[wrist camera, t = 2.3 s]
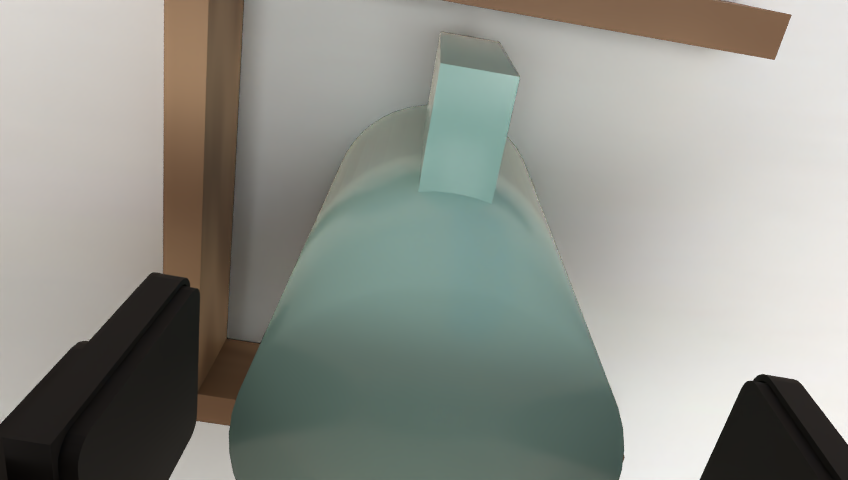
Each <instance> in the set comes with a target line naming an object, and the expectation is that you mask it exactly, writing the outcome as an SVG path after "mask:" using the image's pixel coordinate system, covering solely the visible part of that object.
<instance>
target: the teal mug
mask: <svg viewBox="0 0 848 480" xmlns="http://www.w3.org/2000/svg"><path fill="white" fill-rule="evenodd" d="M519 80H520V76H519V74H518V73H517V71H516V69H515V67H514V66H513V64H512V62H511V61H510V59H509V57H508V56H507V54H506V52H505V51H504V49H503V47H502V46H501V44H500V42H497V41H491V40H486V39H480V38H474V37H469V36H463V35H457V34H452V33H446V32H440V36H439V42H438V48H437V54H436V60H435V66H434V72H433V77H432V83H431V89H430V95H429V101H428V105H421V106H415V107H409V108H406V109H402V110H399V111H396V112H394V113H391V114H389V115H387V116H385V117H383V118H381V119H380V120H378V121H376V122H375V123H373V124H372V125H371V126H369V127H368V128H367V129H366V130H365V131H363V132H362V133H361V134H360V135H359V137H358V138H357V139H356V140H355V141H354V142H353V144H352V145H351V146H350V148H349V149H348V151H347V152H346V154H345V156H344V158H343V160H342V162H341V164H340V166H339V169H338V171H337V173H336V175H335V178H334V180H333V182H332V184H331V187H330V189H329V191H328V193H327V196H326V198H325V200H324V202H323V204H322V207H321V209H320V211H319V213H318V216H317V218H316V220H315V222H314V225H313V227H312V229H311V231H310V234H309V236H308V238H307V240H306V242H305V245H304V247H303V249H302V251H301V254H300V256H299V258H298V260H297V263H296V265H295V267H294V269H293V272H292V274H291V276H290V278H289V281H288V283H287V285H286V287H285V289H284V292H283V294H282V296H281V298H280V301H279V303H278V305H277V307H276V310H275V312H274V314H273V316H272V319H271V321H270V323H269V325H268V327H267V330H266V332H265V334H264V336H263V339H262V341H261V343H260V345H259V348H258V350H257V352H256V354H255V357H254V359H253V361H252V363H251V366H250V368H249V370H248V372H247V374H246V377H245V379H244V381H243V383H242V386H241V388H240V390H239V392H238V395H237V398H236V402H235V405H234V408H233V411H232V415H231V423H230V430H229V452H230V458H231V463H232V469H233V473H234V476H235V479H236V480H619V477H620V474H621V470H622V463H623V454H624V439H623V427H622V423H621V418H620V414H619V409H618V406H617V404H616V401H615V398H614V396H613V393H612V391H611V388H610V385H609V383H608V380H607V378H606V375H605V372H604V370H603V367H602V364H601V362H600V359H599V357H598V354H597V351H596V349H595V346H594V344H593V341H592V338H591V336H590V333H589V330H588V328H587V325H586V323H585V320H584V317H583V315H582V312H581V310H580V307H579V304H578V302H577V299H576V296H575V294H574V291H573V289H572V286H571V283H570V281H569V278H568V275H567V273H566V270H565V268H564V265H563V262H562V260H561V257H560V255H559V252H558V249H557V247H556V244H555V241H554V239H553V236H552V234H551V231H550V228H549V226H548V223H547V221H546V218H545V215H544V213H543V210H542V207H541V205H540V202H539V200H538V197H537V194H536V192H535V189H534V187H533V184H532V181H531V179H530V176H529V173H528V171H527V168H526V166H525V163H524V161H523V159H522V157H521V155H520V153H519V152H518V150H517V148H516V147H515V146H514V144H513V143H512V142H511V141H510V139H509V138H508V137H507V133H508V129H509V124H510V120H511V116H512V111H513V107H514V102H515V98H516V93H517V89H518V84H519Z"/></svg>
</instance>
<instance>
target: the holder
mask: <svg viewBox="0 0 848 480" xmlns="http://www.w3.org/2000/svg"><path fill="white" fill-rule="evenodd" d="M443 1H449V2H454V3H460V4H465V5H471V6H477V7H482V8H488V9H493V10H499V11H504V12H510V13H516V14H521V15H527V16H532V17H538V18H544V19H549V20H555V21H560V22H566V23H572V24H577V25H583V26H588V27H594V28H600V29H605V30H611V31H616V32H622V33H627V34H633V35H639V36H644V37H650V38H655V39H661V40H667V41H672V42H678V43H683V44H689V45H695V46H700V47H706V48H711V49H717V50H723V51H728V52H734V53H739V54H745V55H750V56H756V57H762V58H767V59H773V60H775V57H776V55H777V52H778V49H779V47H780V44H781V41H782V39H783V36H784V34H785V31H786V28H787V26H788V23H789V20H790V18H791V15H790V14H785V13H780V12H776V11H771V10H766V9H761V8H757V7H752V6H747V5H742V4H737V3H732V2H727V1H721V0H443ZM243 6H244V0H164V191H163V274H167V275H173V276H179V277H185V278H188V279H189V282H190V287H192V288H198V289H199V292H200V321H199V360H198V398H197V419H196V421H201V422H208V423H215V424H222V425H229V426H230V423H231V415H232V411H233V408H234V405H235V402H236V398H237V395H238V392H239V390H240V388H241V386H242V383H243V381H244V379H245V377H246V374H247V372H248V370H249V368H250V366H251V363H252V361H253V359H254V357H255V354H256V352H257V350H258V348H259V345H260V344H259V343H252V342H246V341H239V340H233V339H227V321H228V301H229V281H230V262H231V242H232V222H233V203H234V183H235V164H236V144H237V124H238V105H239V85H240V65H241V46H242V26H243ZM623 460H624V454H623Z"/></svg>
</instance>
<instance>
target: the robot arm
mask: <svg viewBox="0 0 848 480" xmlns="http://www.w3.org/2000/svg"><path fill="white" fill-rule="evenodd" d="M199 321H200V292H199V289H198V288H192V287H190V282H189V279H188V278H185V277H179V276H173V275H167V274H161V273H151V274H150V275H149V276H148V277H147V278H146V279H145V280H144V281H143V282H142V283H141V284H140V286H139V287H138V288H137V289H136V290H135V291H134V292H133V293H132V294H131V296H130V297H129V298H128V299H127V300H126V301H125V302H124V303H123V304H122V305H121V307H120V308H119V309H118V310H117V311H116V312H115V313H114V314H113V315H112V316H111V318H110V319H109V320H108V321H107V322H106V323H105V324H104V325H103V326H102V327H101V329H100V330H99V331H98V332H97V333H96V334H95V335H94V336H93V337H92V339H91V340H90V341H89V342H88V341H82V342H78V343H77V344H76V345H75V346H73V347H72V348H71V349H70V350H69V351H68V352H67V353H66V354H65V356H64V357H63V358H62V359H61V360H60V361H59V362H58V363H57V364H56V365H55V366H54V367H53V368H52V369H51V370H50V372H49V373H48V374H47V375H46V376H45V377H44V378H43V379H42V380H41V381H40V382H39V383H38V384H37V385H36V387H35V388H34V389H33V390H32V391H31V392H30V393H29V394H28V395H27V396H26V397H25V398H24V399H23V400H22V402H21V403H20V404H19V405H18V406H17V407H16V408H15V409H14V410H13V411H12V412H11V413H10V414H9V415H8V416H7V418H6V419H5V420H4V421H3V422H2V423H1V424H0V480H169V478H170V476H171V474H172V472H173V470H174V468H175V466H176V465H177V463H178V461H179V459H180V457H181V455H182V453H183V451H184V449H185V448H186V446H187V444H188V442H189V440H190V438H191V436H192V434H193V431H194V428H195V424H196V419H197V398H198V360H199ZM700 480H848V444H847V443H846V442H845V440H844V439H843V438H842V436H841V435H840V434H839V433H838V431H837V430H836V429H835V427H834V426H833V425H832V423H831V422H830V421H829V419H828V418H827V417H826V416H825V414H824V413H823V412H822V410H821V409H820V408H819V406H818V405H817V404H816V403H815V401H814V400H813V399H812V397H811V396H810V395H809V393H808V392H807V391H806V389H805V388H804V387H803V386H802V384H801V383H800V382H798V381H797V380H794V379H788V378H783V377H777V376H771V375H765V374H761V375H758V376H757V377H756V378H755V379H754V380H753V381H747V382H746V383H745V384H744V385H743V387H742V388H741V391H740V393H739V395H738V397H737V399H736V401H735V404H734V406H733V408H732V410H731V412H730V415H729V417H728V419H727V421H726V423H725V426H724V428H723V430H722V432H721V434H720V436H719V439H718V441H717V443H716V445H715V447H714V450H713V452H712V454H711V456H710V458H709V461H708V463H707V465H706V467H705V469H704V472H703V474H702V476H701V478H700Z"/></svg>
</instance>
